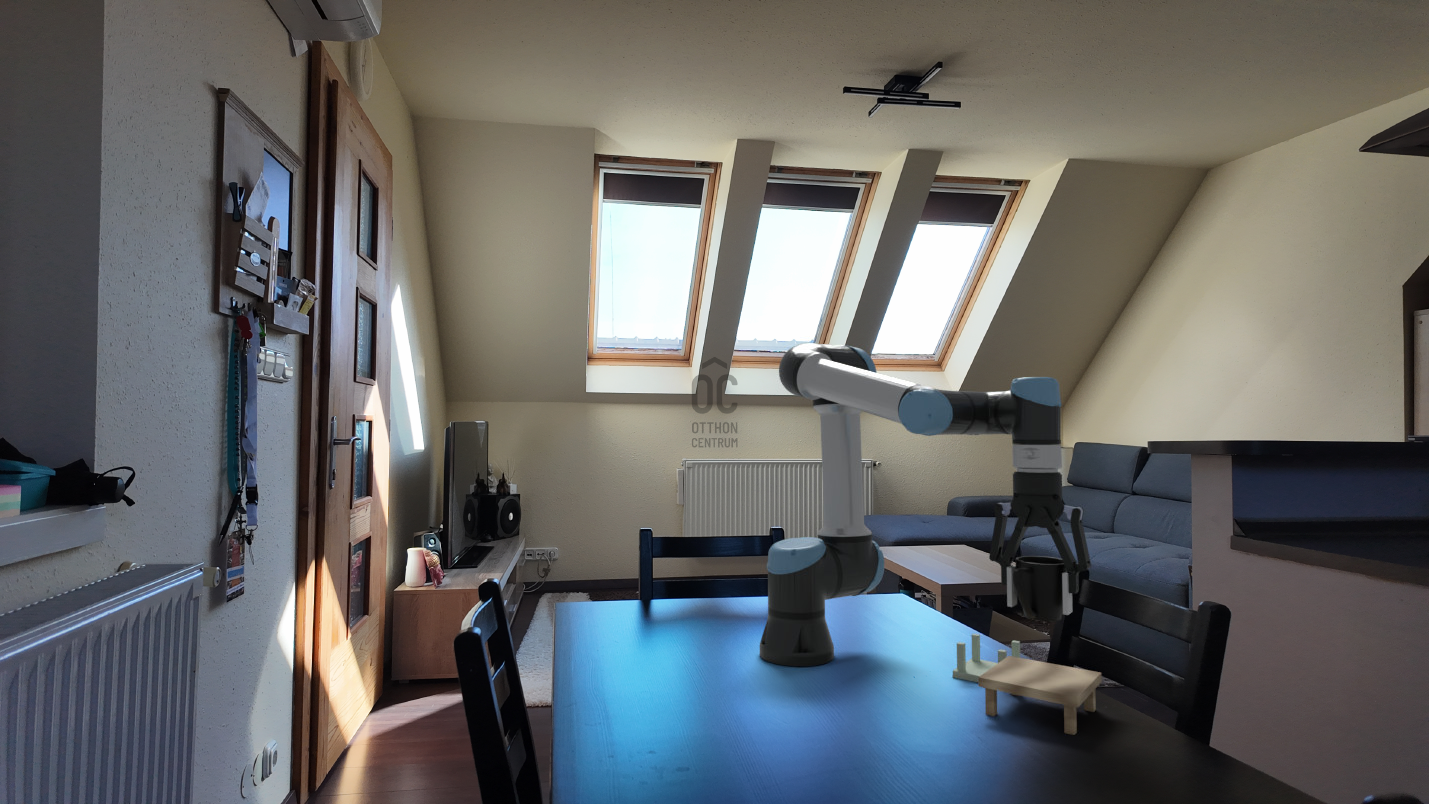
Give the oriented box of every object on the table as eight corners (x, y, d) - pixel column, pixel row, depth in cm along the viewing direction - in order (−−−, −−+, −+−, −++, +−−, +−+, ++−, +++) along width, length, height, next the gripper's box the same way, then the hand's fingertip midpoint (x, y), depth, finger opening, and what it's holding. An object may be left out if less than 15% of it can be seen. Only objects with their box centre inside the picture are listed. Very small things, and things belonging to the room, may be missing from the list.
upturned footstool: (952, 677, 142) (952, 643, 142) (972, 664, 150) (971, 632, 150) (1007, 688, 136) (1006, 653, 136) (1024, 674, 143) (1024, 641, 144)
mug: (992, 619, 125) (991, 561, 125) (1033, 609, 132) (1033, 554, 132) (1038, 630, 118) (1038, 568, 119) (1079, 618, 125) (1078, 560, 126)
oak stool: (978, 714, 123) (978, 677, 123) (1009, 689, 135) (1008, 655, 135) (1078, 738, 114) (1077, 697, 114) (1102, 709, 125) (1101, 672, 126)
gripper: (966, 469, 129) (968, 604, 128) (1100, 473, 116) (1103, 623, 115) (982, 467, 135) (984, 596, 134) (1111, 471, 122) (1114, 614, 121)
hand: (1039, 608), depth 125 cm, fingers closed on mug, 8 cm apart
